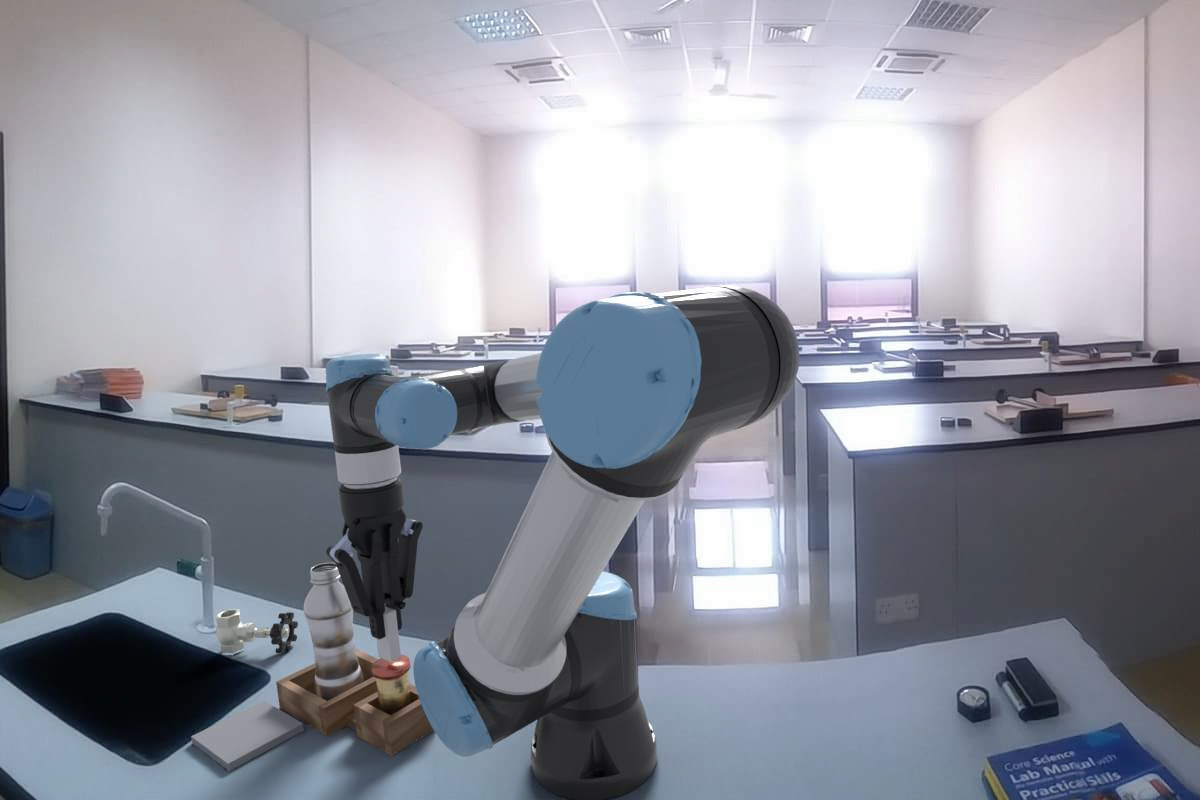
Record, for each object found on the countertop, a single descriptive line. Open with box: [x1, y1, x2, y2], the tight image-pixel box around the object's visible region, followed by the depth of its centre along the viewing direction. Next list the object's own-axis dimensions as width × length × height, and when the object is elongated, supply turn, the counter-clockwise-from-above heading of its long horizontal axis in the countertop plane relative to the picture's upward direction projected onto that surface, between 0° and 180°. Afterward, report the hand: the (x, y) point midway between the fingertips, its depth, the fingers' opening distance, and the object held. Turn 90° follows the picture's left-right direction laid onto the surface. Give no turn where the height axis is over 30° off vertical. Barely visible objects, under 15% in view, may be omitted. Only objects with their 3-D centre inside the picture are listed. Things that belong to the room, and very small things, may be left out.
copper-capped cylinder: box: [371, 654, 411, 715], centre depth 100 cm, size 5×5×7 cm
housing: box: [275, 648, 434, 757], centre depth 105 cm, size 23×12×4 cm, turn 52°
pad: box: [190, 700, 305, 772], centre depth 101 cm, size 10×10×1 cm
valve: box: [216, 608, 299, 654], centre depth 125 cm, size 7×7×12 cm
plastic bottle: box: [303, 562, 364, 701], centre depth 107 cm, size 6×7×20 cm
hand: (389, 656), depth 99 cm, fingers closed
